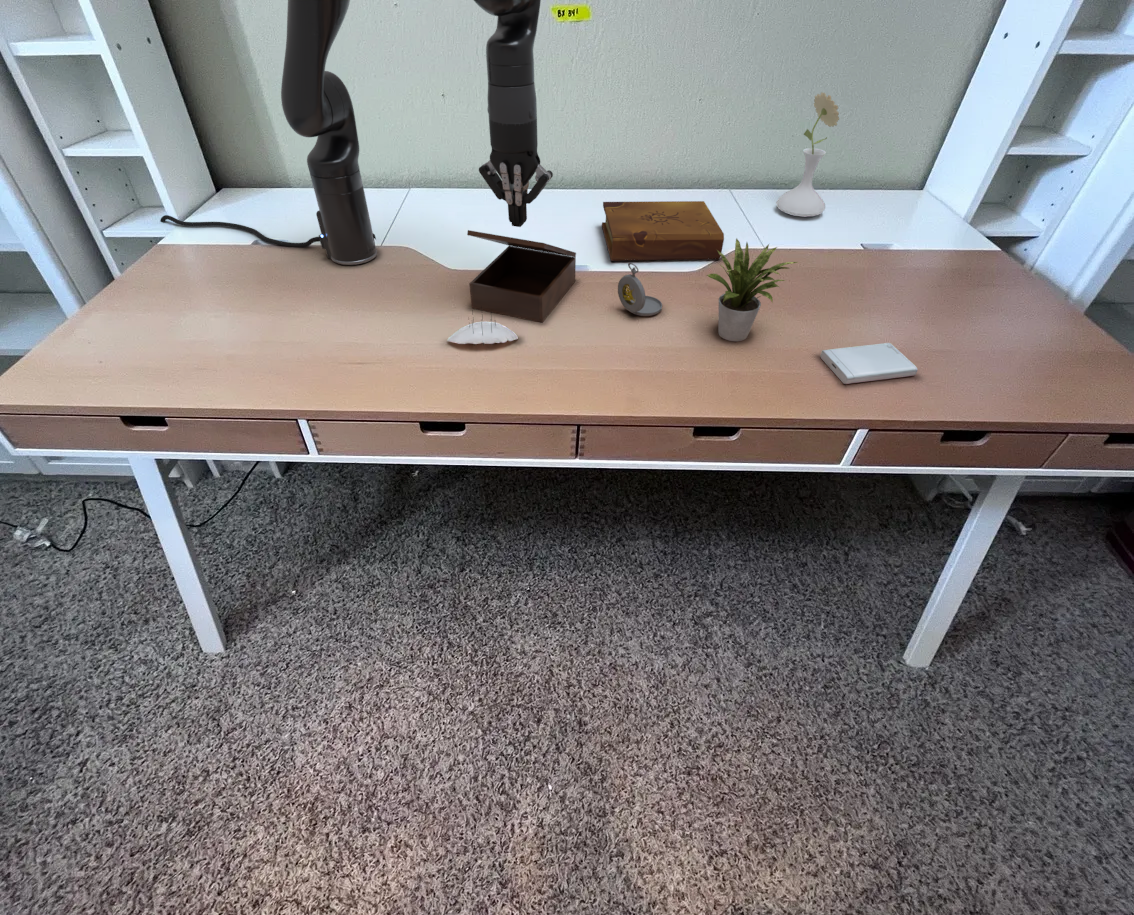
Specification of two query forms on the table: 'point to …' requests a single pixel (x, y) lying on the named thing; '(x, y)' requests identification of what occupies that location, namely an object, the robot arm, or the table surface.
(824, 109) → the flower in vase
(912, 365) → the hard drive
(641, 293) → the pocket watch
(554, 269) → the box
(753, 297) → the house plant
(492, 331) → the pincushion
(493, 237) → the lid
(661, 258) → the diary
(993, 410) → the table surface
